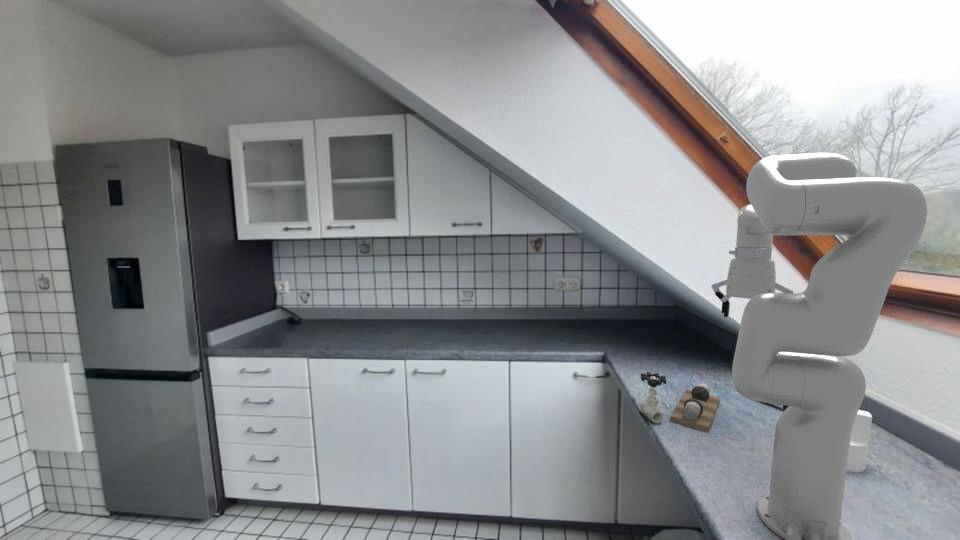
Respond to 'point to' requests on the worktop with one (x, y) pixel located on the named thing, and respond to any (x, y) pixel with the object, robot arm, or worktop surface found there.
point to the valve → (652, 397)
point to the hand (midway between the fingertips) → (747, 319)
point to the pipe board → (702, 418)
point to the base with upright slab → (859, 442)
